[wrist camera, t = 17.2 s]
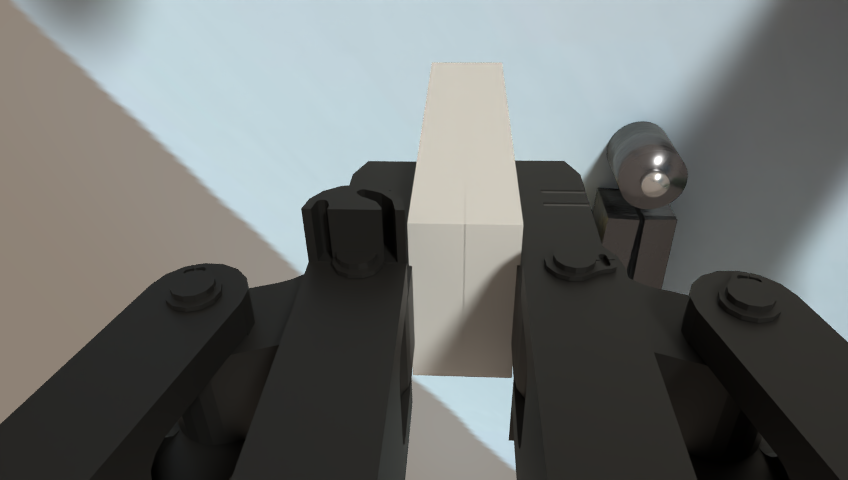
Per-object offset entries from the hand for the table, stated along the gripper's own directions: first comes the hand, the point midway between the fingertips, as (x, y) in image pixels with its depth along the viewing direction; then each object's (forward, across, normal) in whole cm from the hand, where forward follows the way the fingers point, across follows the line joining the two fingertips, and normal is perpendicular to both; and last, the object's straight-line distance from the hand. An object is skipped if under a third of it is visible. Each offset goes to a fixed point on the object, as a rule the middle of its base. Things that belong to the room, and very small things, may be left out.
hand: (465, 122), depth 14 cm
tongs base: (+26, +12, -23) cm, 37 cm away
